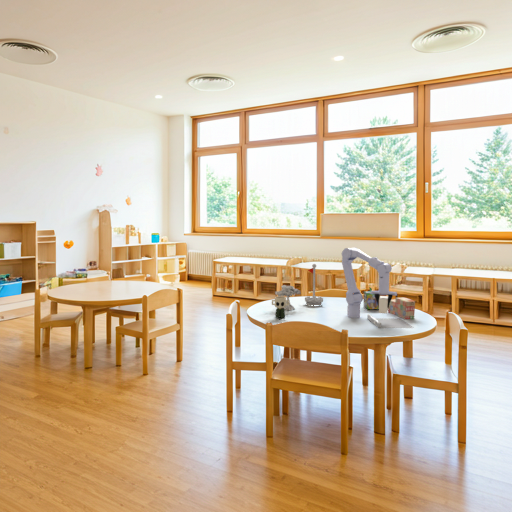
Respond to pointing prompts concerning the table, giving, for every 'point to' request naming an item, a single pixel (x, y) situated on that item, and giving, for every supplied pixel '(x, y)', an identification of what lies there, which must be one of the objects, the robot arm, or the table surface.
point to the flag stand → (313, 300)
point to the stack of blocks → (402, 307)
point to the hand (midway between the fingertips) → (383, 307)
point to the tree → (288, 294)
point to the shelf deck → (393, 323)
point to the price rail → (374, 321)
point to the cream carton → (383, 304)
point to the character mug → (280, 306)
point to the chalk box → (370, 300)
